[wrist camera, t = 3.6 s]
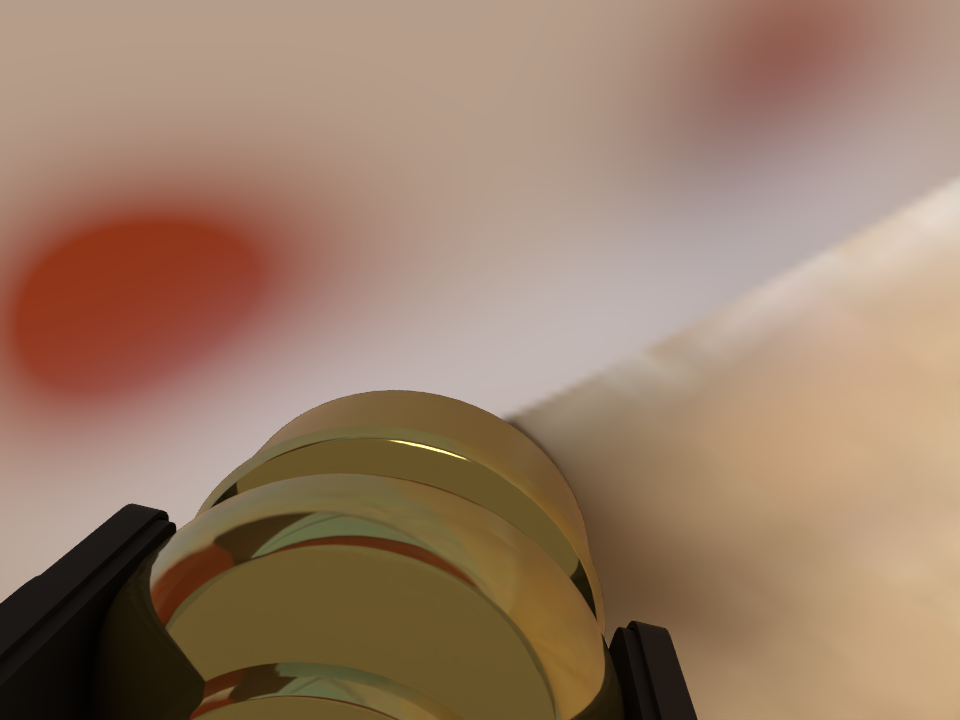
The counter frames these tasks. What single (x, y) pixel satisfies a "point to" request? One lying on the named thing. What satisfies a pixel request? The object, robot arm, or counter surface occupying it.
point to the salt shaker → (368, 582)
